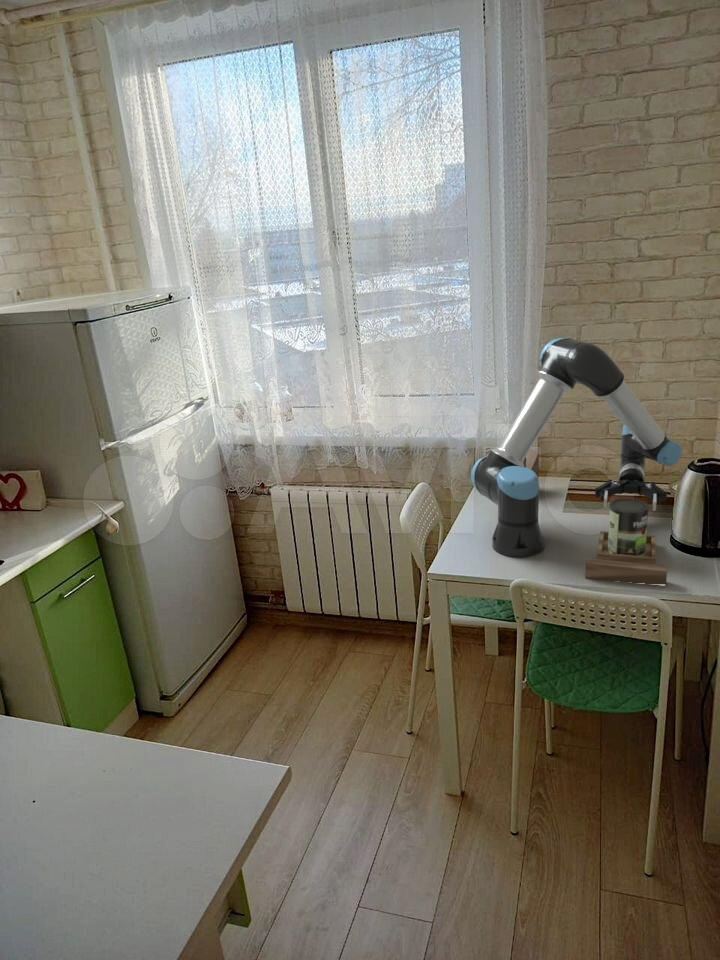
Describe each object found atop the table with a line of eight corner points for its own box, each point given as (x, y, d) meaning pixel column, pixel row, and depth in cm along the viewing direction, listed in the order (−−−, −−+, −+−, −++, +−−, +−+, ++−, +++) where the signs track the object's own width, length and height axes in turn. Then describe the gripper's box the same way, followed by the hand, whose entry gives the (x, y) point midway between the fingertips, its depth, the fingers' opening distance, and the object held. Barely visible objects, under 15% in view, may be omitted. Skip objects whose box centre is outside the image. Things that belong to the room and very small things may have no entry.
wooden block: (538, 490, 252) (539, 441, 246) (522, 499, 245) (522, 450, 239) (529, 488, 255) (530, 440, 248) (513, 497, 248) (513, 448, 241)
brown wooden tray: (654, 568, 193) (655, 559, 192) (596, 563, 198) (597, 553, 197) (654, 544, 206) (655, 535, 205) (600, 540, 211) (600, 531, 210)
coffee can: (653, 550, 201) (657, 504, 196) (631, 562, 195) (634, 515, 190) (621, 539, 209) (624, 495, 204) (599, 550, 203) (601, 505, 198)
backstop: (665, 588, 184) (667, 571, 182) (585, 579, 191) (585, 563, 190) (665, 582, 187) (666, 565, 185) (585, 574, 194) (586, 558, 192)
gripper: (673, 492, 223) (675, 519, 205) (590, 487, 232) (584, 513, 214) (675, 470, 220) (677, 495, 202) (590, 465, 229) (585, 490, 211)
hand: (629, 504), depth 208 cm, fingers open, 13 cm apart
